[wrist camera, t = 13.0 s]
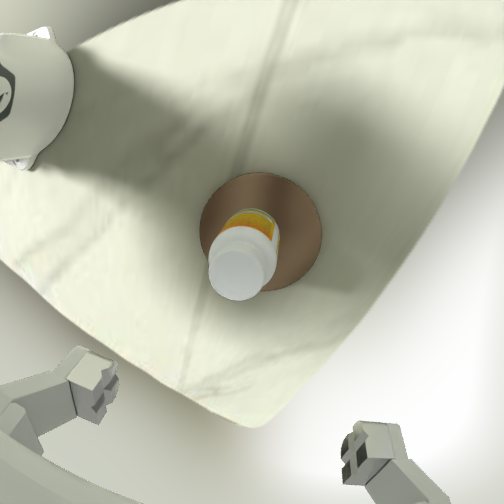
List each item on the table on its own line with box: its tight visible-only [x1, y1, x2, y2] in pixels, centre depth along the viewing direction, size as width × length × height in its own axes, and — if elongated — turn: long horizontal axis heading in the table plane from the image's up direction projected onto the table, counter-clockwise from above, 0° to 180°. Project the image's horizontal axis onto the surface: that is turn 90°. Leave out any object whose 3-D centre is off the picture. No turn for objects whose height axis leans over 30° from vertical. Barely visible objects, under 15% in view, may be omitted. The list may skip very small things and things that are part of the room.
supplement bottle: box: [208, 209, 280, 301], centre depth 27 cm, size 5×5×10 cm
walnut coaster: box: [200, 173, 322, 291], centre depth 32 cm, size 12×12×1 cm
